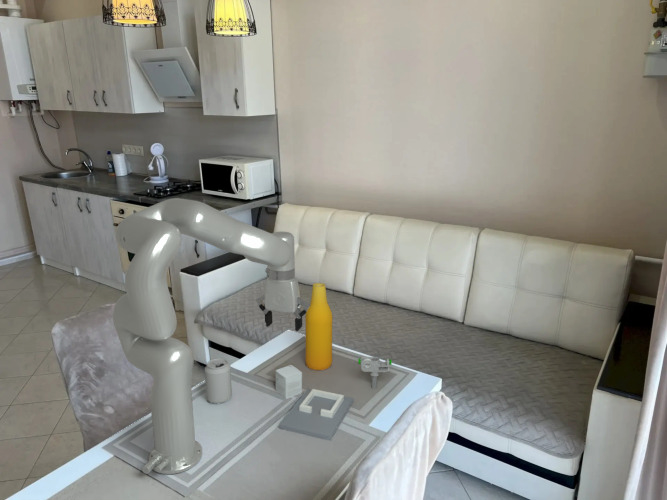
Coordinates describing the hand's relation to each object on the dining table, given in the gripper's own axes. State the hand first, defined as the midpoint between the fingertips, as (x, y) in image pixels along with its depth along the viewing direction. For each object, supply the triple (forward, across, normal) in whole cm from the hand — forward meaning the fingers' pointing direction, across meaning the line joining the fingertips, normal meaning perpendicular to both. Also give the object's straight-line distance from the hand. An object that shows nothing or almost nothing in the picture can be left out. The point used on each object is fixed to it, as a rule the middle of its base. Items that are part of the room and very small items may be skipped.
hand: (283, 327), depth 149 cm
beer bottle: (+21, +5, +18) cm, 28 cm away
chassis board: (+20, +15, -10) cm, 27 cm away
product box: (+21, +2, -2) cm, 21 cm away
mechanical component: (+21, +26, +9) cm, 35 cm away
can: (+20, -16, -13) cm, 29 cm away
